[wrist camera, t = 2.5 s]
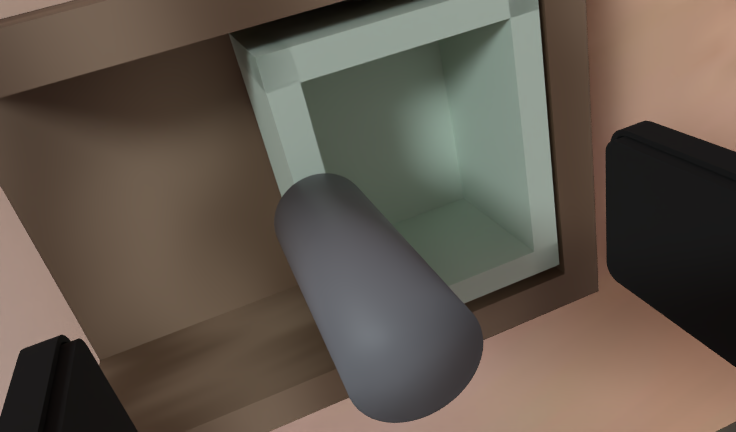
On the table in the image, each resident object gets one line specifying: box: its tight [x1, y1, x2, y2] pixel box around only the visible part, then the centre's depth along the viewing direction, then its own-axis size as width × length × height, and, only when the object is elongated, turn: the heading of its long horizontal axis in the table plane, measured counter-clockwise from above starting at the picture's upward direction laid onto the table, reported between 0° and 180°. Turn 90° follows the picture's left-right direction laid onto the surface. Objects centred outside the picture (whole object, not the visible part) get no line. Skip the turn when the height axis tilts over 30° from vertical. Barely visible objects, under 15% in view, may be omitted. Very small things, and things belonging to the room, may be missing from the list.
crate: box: [229, 0, 559, 423], centre depth 15 cm, size 8×8×11 cm
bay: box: [0, 0, 598, 432], centre depth 17 cm, size 16×12×6 cm
